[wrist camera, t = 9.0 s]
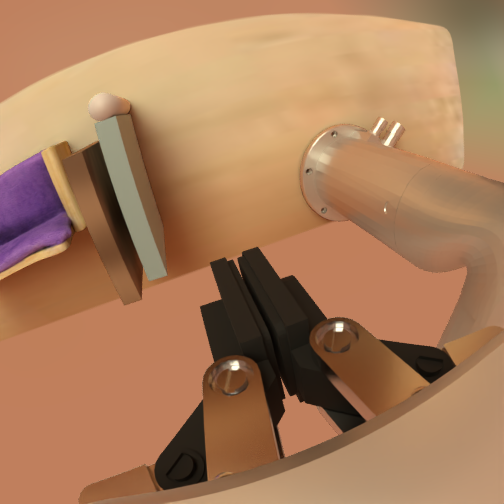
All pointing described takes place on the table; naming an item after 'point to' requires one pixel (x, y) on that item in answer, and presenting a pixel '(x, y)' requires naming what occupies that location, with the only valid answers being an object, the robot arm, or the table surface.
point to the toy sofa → (37, 210)
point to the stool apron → (105, 220)
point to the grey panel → (130, 180)
